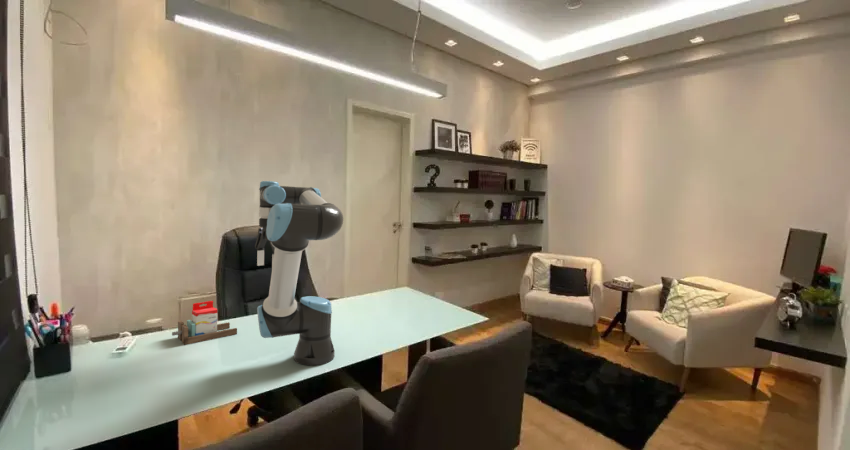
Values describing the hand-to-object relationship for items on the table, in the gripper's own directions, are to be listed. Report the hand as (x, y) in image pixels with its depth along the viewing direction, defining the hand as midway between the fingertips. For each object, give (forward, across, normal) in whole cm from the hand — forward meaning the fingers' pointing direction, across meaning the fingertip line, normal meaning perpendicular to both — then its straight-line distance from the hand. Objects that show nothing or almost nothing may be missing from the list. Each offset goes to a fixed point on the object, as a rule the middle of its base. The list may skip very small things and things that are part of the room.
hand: (267, 267), depth 163 cm
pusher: (+30, +19, +26) cm, 44 cm away
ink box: (+31, +18, +18) cm, 40 cm away
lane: (+30, +18, +17) cm, 39 cm away
